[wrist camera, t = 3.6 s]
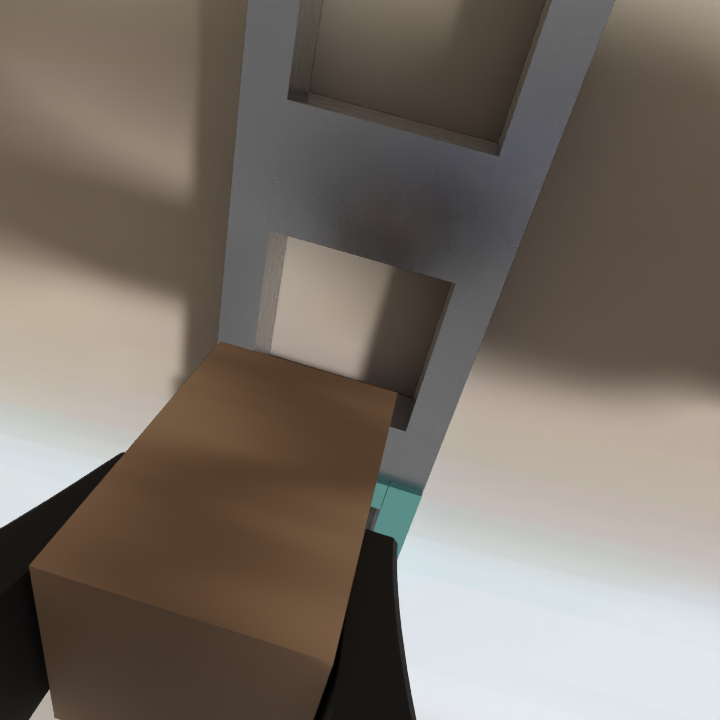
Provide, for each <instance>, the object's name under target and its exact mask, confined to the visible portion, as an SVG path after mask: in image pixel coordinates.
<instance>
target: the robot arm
mask: <svg viewBox="0 0 720 720" xmlns="http://www.w3.org/2000/svg"><path fill="white" fill-rule="evenodd" d="M124 454H125V452H123V453H121V454H118V455H117V456H115V457H114V458H112V459H110V460H109V461H107V462H106V463H104V464H103V465H101V466H100V467H98V468H97V469H95V470H93V471H92V472H90V473H89V474H87V475H86V476H84V477H83V478H81V479H80V480H78V481H76V482H75V483H73V484H72V485H70V486H69V487H67V488H66V489H64V490H62V491H61V492H59V493H58V494H56V495H54V496H53V497H51V498H50V499H48V500H47V501H45V502H43V503H42V504H40V505H38V506H37V507H35V508H33V509H32V510H30V511H28V512H27V513H25V514H24V515H22V516H20V517H19V518H17V519H15V520H14V521H12V522H10V523H9V524H7V525H5V526H4V527H2V528H0V720H29V719H30V717H31V716H32V714H33V713H34V711H35V710H36V708H37V707H38V705H39V704H40V702H41V700H42V699H43V698H44V696H45V695H46V693H47V692H48V690H49V689H50V687H49V681H48V675H47V670H46V664H45V658H44V652H43V646H42V640H41V634H40V629H39V623H38V617H37V611H36V605H35V599H34V593H33V587H32V582H31V576H30V570H29V565H30V564H31V563H32V562H33V560H34V559H35V558H36V557H37V556H38V555H39V553H40V552H41V551H42V550H43V549H44V548H45V546H46V545H47V544H48V543H49V542H50V540H51V539H52V538H53V537H54V536H55V535H56V533H57V532H58V531H59V530H60V529H61V528H62V526H63V525H64V524H65V523H66V522H67V520H68V519H69V518H70V517H71V516H72V515H73V513H74V512H75V511H76V510H77V509H78V508H79V506H80V505H81V504H82V503H83V502H84V501H85V499H86V498H87V497H88V496H89V495H90V493H91V492H92V491H93V490H94V489H95V488H96V486H97V485H98V484H99V483H100V482H101V481H102V479H103V478H104V477H105V476H106V475H107V474H108V472H109V471H110V470H111V469H112V468H113V466H114V465H115V464H116V463H117V462H118V461H119V459H120V458H121V457H122V456H123V455H124ZM397 547H398V543H397V542H396V540H395V539H394V538H393V537H390V536H387V535H384V534H381V533H377V532H374V531H371V530H368V529H365V533H364V537H363V541H362V545H361V549H360V554H359V558H358V562H357V566H356V570H355V575H354V579H353V583H352V587H351V591H350V596H349V600H348V604H347V608H346V612H345V617H344V621H343V625H342V629H341V633H340V638H339V642H338V646H337V650H336V654H335V659H334V663H333V666H332V669H331V671H330V674H329V677H328V680H327V683H326V686H325V689H324V691H323V694H322V697H321V700H320V703H319V706H318V709H317V711H316V714H315V717H314V720H416V716H415V710H414V705H413V700H412V695H411V689H410V683H409V677H408V672H407V665H406V658H405V650H404V643H403V636H402V629H401V620H400V610H399V597H398V582H397Z"/></svg>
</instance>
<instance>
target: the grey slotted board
mask: <svg viewBox="0 0 720 720" xmlns="http://www.w3.org/2000/svg"><path fill="white" fill-rule="evenodd" d="M614 2H615V0H546V1H545V4H544V7H543V10H542V13H541V16H540V19H539V22H538V25H537V28H536V31H535V34H534V37H533V40H532V43H531V46H530V49H529V52H528V55H527V58H526V61H525V64H524V67H523V70H522V73H521V76H520V79H519V82H518V85H517V88H516V91H515V94H514V97H513V100H512V103H511V106H510V109H509V112H508V115H507V118H506V121H505V124H504V127H503V130H502V133H501V136H500V139H499V142H498V143H496V142H492V141H488V140H484V139H481V138H477V137H473V136H470V135H466V134H462V133H458V132H455V131H451V130H447V129H444V128H440V127H436V126H432V125H429V124H425V123H421V122H418V121H414V120H410V119H406V118H403V117H399V116H395V115H391V114H388V113H384V112H380V111H377V110H373V109H369V108H365V107H362V106H358V105H354V104H351V103H347V102H343V101H339V100H336V99H332V98H328V97H325V96H321V95H317V94H313V93H310V92H309V89H310V82H311V76H312V69H313V62H314V56H315V49H316V42H317V36H318V29H319V22H320V16H321V9H322V3H323V0H248V4H247V16H246V27H245V38H244V49H243V61H242V72H241V83H240V94H239V106H238V117H237V128H236V139H235V150H234V162H233V173H232V184H231V195H230V207H229V218H228V229H227V240H226V252H225V263H224V274H223V285H222V297H221V308H220V319H219V330H218V342H217V344H218V343H219V342H220V341H222V342H225V343H229V344H232V345H236V346H239V347H242V348H246V349H249V350H253V351H256V352H260V353H263V354H266V355H269V354H270V348H271V341H272V335H273V328H274V321H275V315H276V308H277V301H278V295H279V288H280V281H281V275H282V268H283V262H284V255H285V248H286V242H287V236H291V237H294V238H298V239H301V240H305V241H308V242H312V243H315V244H319V245H322V246H326V247H329V248H333V249H336V250H340V251H343V252H347V253H350V254H354V255H357V256H361V257H364V258H368V259H371V260H375V261H378V262H382V263H385V264H389V265H392V266H396V267H399V268H403V269H406V270H410V271H413V272H417V273H420V274H424V275H427V276H431V277H434V278H438V279H441V280H445V281H448V282H452V283H451V286H450V289H449V292H448V295H447V298H446V301H445V304H444V307H443V310H442V313H441V316H440V319H439V322H438V325H437V328H436V331H435V334H434V337H433V340H432V343H431V346H430V349H429V352H428V355H427V358H426V361H425V364H424V367H423V370H422V373H421V376H420V379H419V382H418V385H417V388H416V391H415V394H414V397H413V398H411V397H407V396H404V395H401V394H397V398H396V402H395V407H394V411H393V415H392V419H391V423H390V428H389V432H388V436H387V440H386V444H385V449H384V453H383V457H382V461H381V465H380V470H379V474H378V478H377V482H376V486H375V491H374V495H373V499H372V503H371V507H374V508H376V511H375V514H374V517H373V520H372V523H371V526H370V529H369V530H371V531H374V532H377V533H381V534H384V535H387V536H390V537H393V538H394V539H395V540H396V542H397V543H398V547H397V559H398V556H399V553H400V551H401V548H402V546H403V543H404V541H405V538H406V536H407V533H408V530H409V528H410V525H411V523H412V520H413V518H414V515H415V513H416V510H417V507H418V505H419V502H420V500H421V497H422V493H423V490H424V488H425V485H426V483H427V480H428V478H429V475H430V472H431V470H432V467H433V465H434V462H435V460H436V457H437V455H438V452H439V449H440V447H441V444H442V442H443V439H444V437H445V434H446V432H447V429H448V426H449V424H450V421H451V419H452V416H453V414H454V411H455V408H456V406H457V403H458V401H459V398H460V396H461V393H462V391H463V388H464V385H465V383H466V380H467V378H468V375H469V373H470V370H471V368H472V365H473V362H474V360H475V357H476V355H477V352H478V350H479V347H480V345H481V342H482V339H483V337H484V334H485V332H486V329H487V327H488V324H489V321H490V319H491V316H492V314H493V311H494V309H495V306H496V304H497V301H498V298H499V296H500V293H501V291H502V288H503V286H504V283H505V281H506V278H507V275H508V273H509V270H510V268H511V265H512V263H513V260H514V257H515V255H516V252H517V250H518V247H519V245H520V242H521V240H522V237H523V234H524V232H525V229H526V227H527V224H528V222H529V219H530V217H531V214H532V211H533V209H534V206H535V204H536V201H537V199H538V196H539V193H540V191H541V188H542V186H543V183H544V181H545V178H546V176H547V173H548V170H549V168H550V165H551V163H552V160H553V158H554V155H555V153H556V150H557V147H558V145H559V142H560V140H561V137H562V135H563V132H564V130H565V127H566V124H567V122H568V119H569V117H570V114H571V112H572V109H573V106H574V104H575V101H576V99H577V96H578V94H579V91H580V89H581V86H582V83H583V81H584V78H585V76H586V73H587V71H588V68H589V66H590V63H591V60H592V58H593V55H594V53H595V50H596V48H597V45H598V42H599V40H600V37H601V35H602V32H603V30H604V27H605V25H606V22H607V19H608V17H609V14H610V12H611V9H612V7H613V4H614ZM270 356H271V355H270ZM273 357H274V356H273ZM280 359H281V358H280ZM290 362H291V361H290Z"/></svg>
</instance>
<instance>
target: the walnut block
mask: <svg viewBox="0 0 720 720" xmlns="http://www.w3.org/2000/svg"><path fill="white" fill-rule="evenodd" d="M397 394H398V393H396V392H393V391H390V390H386V389H383V388H379V387H376V386H372V385H369V384H366V383H362V382H359V381H355V380H352V379H348V378H345V377H342V376H338V375H335V374H331V373H328V372H325V371H321V370H318V369H314V368H311V367H307V366H304V365H301V364H297V363H294V362H290V361H287V360H284V359H280V358H277V357H273V356H270V355H266V354H263V353H260V352H256V351H253V350H249V349H246V348H242V347H239V346H236V345H232V344H229V343H225V342H222V341H220V342H219V343H218V344H217V345H216V347H215V348H214V349H213V350H212V351H211V353H210V354H209V355H208V356H207V357H206V358H205V360H204V361H203V362H202V363H201V364H200V365H199V367H198V368H197V369H196V370H195V371H194V372H193V374H192V375H191V376H190V377H189V378H188V380H187V381H186V382H185V383H184V384H183V385H182V387H181V388H180V389H179V390H178V391H177V392H176V394H175V395H174V396H173V397H172V398H171V400H170V401H169V402H168V403H167V404H166V405H165V407H164V408H163V409H162V410H161V411H160V412H159V414H158V415H157V416H156V417H155V418H154V419H153V421H152V422H151V423H150V424H149V425H148V427H147V428H146V429H145V430H144V431H143V432H142V434H141V435H140V436H139V437H138V438H137V439H136V441H135V442H134V443H133V444H132V445H131V446H130V448H129V449H128V450H127V451H126V452H125V454H124V455H123V456H122V457H121V458H120V459H119V461H118V462H117V463H116V464H115V465H114V466H113V468H112V469H111V470H110V471H109V472H108V474H107V475H106V476H105V477H104V478H103V479H102V481H101V482H100V483H99V484H98V485H97V486H96V488H95V489H94V490H93V491H92V492H91V493H90V495H89V496H88V497H87V498H86V499H85V501H84V502H83V503H82V504H81V505H80V506H79V508H78V509H77V510H76V511H75V512H74V513H73V515H72V516H71V517H70V518H69V519H68V520H67V522H66V523H65V524H64V525H63V526H62V528H61V529H60V530H59V531H58V532H57V533H56V535H55V536H54V537H53V538H52V539H51V540H50V542H49V543H48V544H47V545H46V546H45V548H44V549H43V550H42V551H41V552H40V553H39V555H38V556H37V557H36V558H35V559H34V560H33V562H32V563H31V564H30V565H29V570H30V576H31V582H32V587H33V593H34V599H35V605H36V611H37V617H38V623H39V629H40V634H41V640H42V646H43V652H44V658H45V664H46V670H47V675H48V681H49V687H50V693H51V699H52V705H53V711H54V717H55V718H57V719H60V720H314V717H315V714H316V711H317V709H318V706H319V703H320V700H321V697H322V694H323V691H324V689H325V686H326V683H327V680H328V677H329V674H330V671H331V669H332V666H333V663H334V659H335V654H336V650H337V646H338V642H339V638H340V633H341V629H342V625H343V621H344V617H345V612H346V608H347V604H348V600H349V596H350V591H351V587H352V583H353V579H354V575H355V570H356V566H357V562H358V558H359V554H360V549H361V545H362V541H363V537H364V533H365V528H366V524H367V520H368V516H369V512H370V507H371V503H372V499H373V495H374V491H375V486H376V482H377V478H378V474H379V470H380V465H381V461H382V457H383V453H384V449H385V444H386V440H387V436H388V432H389V428H390V423H391V419H392V415H393V411H394V407H395V402H396V398H397Z"/></svg>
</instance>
